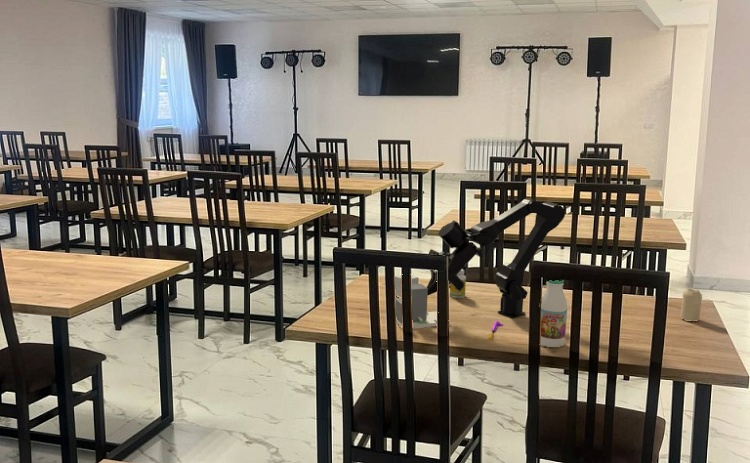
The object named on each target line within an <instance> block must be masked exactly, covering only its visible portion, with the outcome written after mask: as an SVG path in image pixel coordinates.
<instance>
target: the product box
mask: <svg viewBox="0 0 750 463" xmlns="http://www.w3.org/2000/svg"><path fill="white" fill-rule="evenodd" d="M401 275H402V274H400V275H399V274H398V275H394V281H395V289H396V296H397V295H398V296H400V297H401ZM410 275H411V276H412V285H413V284H419V276H415V275H413V274H410Z"/></svg>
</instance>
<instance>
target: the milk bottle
mask: <svg viewBox="0 0 750 463" xmlns="http://www.w3.org/2000/svg"><path fill="white" fill-rule="evenodd" d="M564 282H565V279H564V280H562V281H559V280H555V281H552V280H549V281H547V280H546V284H547V285H546V289H545V291H544V293H543V294H542V296H541V298H542V304H541V345H540V346H542V347H544V346H547V347H546V348H549V347H559V348H561V347H560V346H562V347H563V346H564V345H565V342H566V341H565V340H566V332H567V330H566V329H567V318H568V316H567V315H568V303H567V299H566V295H565V293H564V288H563V286H564Z"/></svg>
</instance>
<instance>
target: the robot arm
mask: <svg viewBox="0 0 750 463" xmlns="http://www.w3.org/2000/svg"><path fill="white" fill-rule="evenodd" d="M533 213H534V214H535V219H534V226H533V227H532V229H531V231H530V232H529V234H528V235H527V236H526V239H525V240H524V242H523V243H522V245H521V246H520V248H519V250H518V251H517V253H516V255H515V256H514V258H513V260H512V261H511V262H510V263H508V264H507V265H506V264H501V266H500V268H499V270H498V271H497V272H496V273H495V275H496V277H495V280H494V281H495V285H496V287H497V288H498V289H499V292H500V293H502V294H501V297H500V307H499V308H500V310H498V311H497V313H498V314H500V315H503V316H506V317H510V318H513V319H514V318H518V317H521V316H525V315H526V312H525V311H523V310H524V309H523V308H524V300H525V299H527V295H528V291H527V290H526V288H524V287H523V286H522V285H523V283H524V280H525V271H526V270H527V268H528V266H529V264H530V262H532V259H533V258H534V256H535V255H536V253H537V251H538V250H539V248H540V247H541V245H542V244H543V242H544V241H545V238H546V237H547V235H548V234H549V233H550V232H551V231H553V230H554V229H555V228H557V227H558V226H559V225H560V223H562V222H563V220H564V219H565V216H566V213H565V209H564V207H563V206H562V205H560V204H557V203H553V202H550V201H546V202H543V203H542V202H538V201H536V200H534V199H532V198H524V199H523V200H522V201H520V202H519V203H518V204H516V205H514V206H513V207H510V208H509V209H508V210H506V211H505V212H503V213H501V214H499V215H497V216H496V217H495V218H493V219H490V220H486V221H482V222H479V223H477V224H474V225H472V227H471V228H466V229H463V228H462V227H461V225H460V224H459V222H458V221H456V220H452V221H451V222H448V223H447V224H445V225H443V226H442V227H441V228H440V229H439V231H438V236H439V237H440V239H441V240H443V241H444V242H445V244H447V246H448V247H449V248H450V249H454V250H453V251H452V252H447V253H446V252H445V251H440V252H438V251H437V250H435V249H432V248H430V250H429V252H428V254H433V255H445V256H449V288H448V289H450V288H451V287H450V284H451V283H452V284H453V285H454V286H455V289H456V290H458V291H459V292H460V291H461V290H462V289H463V288H464V282H463V281H462V280H461V279H460V278H459V277H458V276H457V274H458V273H459V272H460V271H461V270H462V269H463V270H464V271H466V270H467V267H466V266H467V264H468V263H469V262H470V261H471V260H472V259H473V258H474V257H475V256H477V257H479V258H483V255H484V254H483V248H482V247H488V246H490V245H491V244H492V243H494V242H495V241H496V240H497V239H498V238H499V236H500V235H501V233H502V232H503V231H505V230H507V229H508V228H510V227H511V226H513V225H515V224H516V223H518V222H520V221H521V220H523V219H524V218H526V217H528V216H529V215H531V214H533ZM469 240H470V241H469ZM476 244H477V245H479V247H478V246H477V245H476ZM480 246H482V247H480ZM429 271H430V277H431V278H430V280H429V282H428V284H427V285H426V287H427V288H428V296H430V295H432V294H435V293H437V282H436V281H437V271H435V270H430V269H429Z"/></svg>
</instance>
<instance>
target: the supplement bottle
mask: <svg viewBox="0 0 750 463" xmlns="http://www.w3.org/2000/svg"><path fill="white" fill-rule="evenodd" d="M464 274H465V270H463V269H462V270H461V271H460V272H459V273H458V274H457V276H458V277H459V278H460V279H461V280H462V281H463V282H464V288H463V289H462V290H461V291H460V292H459V291H458V290H456V289H455V286H454V285H453V284H452V283H451V284H450V285H449V286H450V287H451V288H449V297H451V298H453V299H462V298H465V297H466V283H467V282H466V281H467V276H466V275H464Z"/></svg>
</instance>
